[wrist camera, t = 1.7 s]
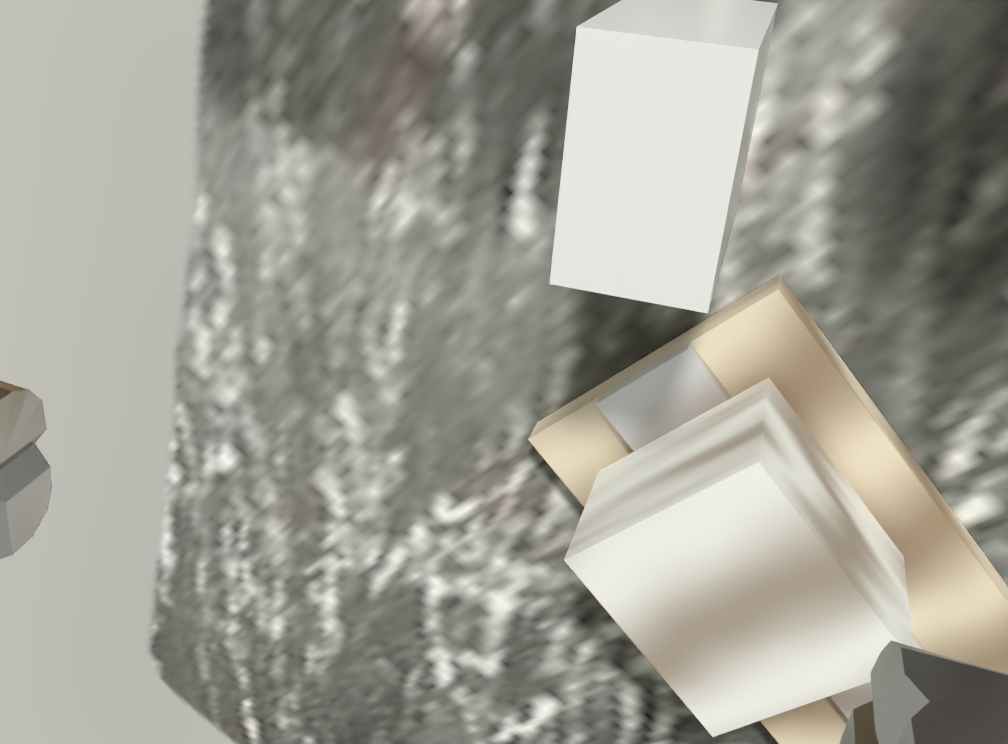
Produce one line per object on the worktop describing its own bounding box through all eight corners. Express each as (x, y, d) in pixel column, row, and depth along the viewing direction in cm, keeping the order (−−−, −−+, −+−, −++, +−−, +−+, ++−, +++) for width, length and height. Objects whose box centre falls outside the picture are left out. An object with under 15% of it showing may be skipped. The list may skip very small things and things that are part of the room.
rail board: (537, 422, 42) (479, 530, 35) (779, 274, 36) (767, 370, 29) (962, 940, 48) (984, 1120, 41) (1228, 887, 42) (1307, 1088, 35)
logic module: (777, 3, 32) (759, 49, 23) (737, 207, 35) (707, 313, 27) (641, -13, 33) (575, 26, 24) (614, 187, 36) (547, 283, 28)
